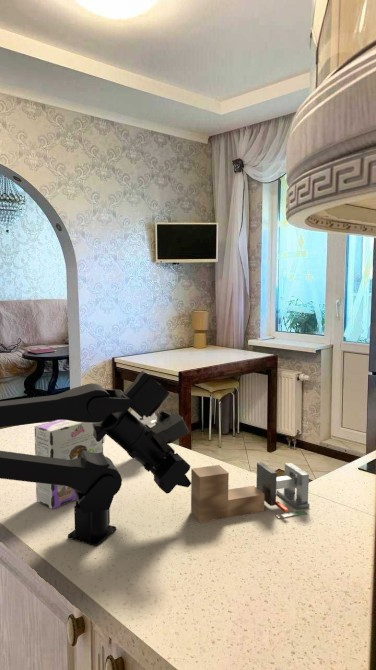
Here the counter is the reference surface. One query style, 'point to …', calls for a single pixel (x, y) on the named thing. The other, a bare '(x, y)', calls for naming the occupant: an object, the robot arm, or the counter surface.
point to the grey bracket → (273, 484)
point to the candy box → (62, 454)
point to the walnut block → (221, 495)
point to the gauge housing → (298, 498)
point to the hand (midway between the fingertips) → (189, 484)
